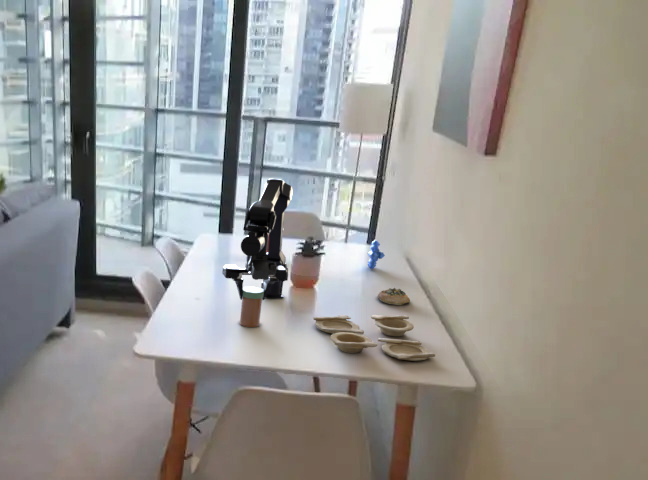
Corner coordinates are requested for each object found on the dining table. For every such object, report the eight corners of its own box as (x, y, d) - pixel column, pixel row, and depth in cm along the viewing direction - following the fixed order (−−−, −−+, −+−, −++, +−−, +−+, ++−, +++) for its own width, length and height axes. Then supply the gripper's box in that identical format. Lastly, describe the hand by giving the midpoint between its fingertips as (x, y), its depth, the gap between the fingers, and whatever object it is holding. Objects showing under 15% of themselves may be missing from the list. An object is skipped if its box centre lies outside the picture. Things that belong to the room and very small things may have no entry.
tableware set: (310, 319, 228) (311, 307, 226) (402, 323, 228) (404, 311, 226) (332, 360, 196) (334, 346, 194) (440, 366, 196) (443, 352, 194)
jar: (254, 320, 225) (257, 287, 221) (262, 326, 219) (266, 293, 215) (236, 321, 223) (239, 288, 219) (244, 327, 218) (247, 294, 214)
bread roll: (382, 293, 258) (386, 280, 256) (412, 303, 253) (416, 290, 250) (371, 301, 250) (375, 288, 247) (402, 312, 245) (406, 299, 242)
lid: (239, 297, 216) (240, 291, 215) (242, 291, 222) (243, 285, 221) (262, 299, 214) (262, 293, 213) (264, 293, 220) (265, 287, 219)
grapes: (381, 273, 286) (386, 243, 281) (363, 271, 288) (368, 241, 283) (383, 266, 296) (388, 237, 291) (366, 264, 298) (371, 236, 293)
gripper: (232, 254, 204) (227, 307, 210) (295, 256, 206) (289, 308, 212) (224, 245, 214) (219, 296, 220) (285, 247, 216) (279, 297, 222)
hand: (252, 299), depth 218 cm, fingers closed on lid, 6 cm apart
